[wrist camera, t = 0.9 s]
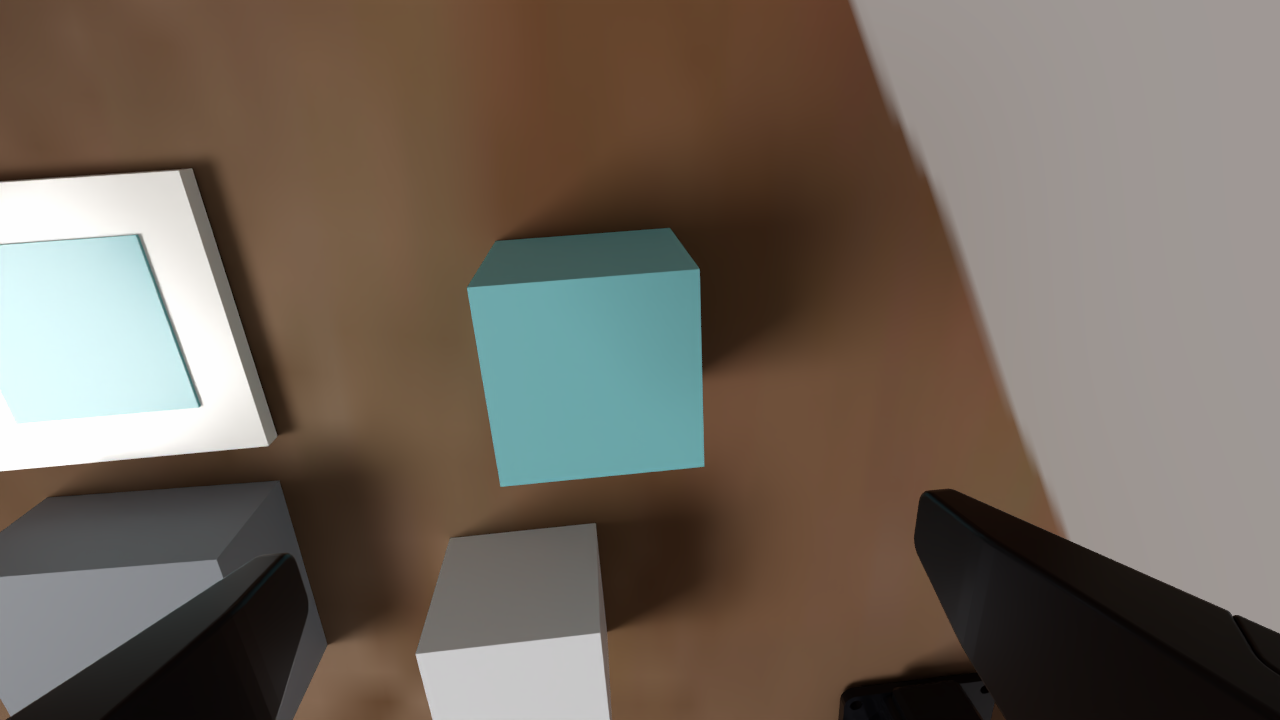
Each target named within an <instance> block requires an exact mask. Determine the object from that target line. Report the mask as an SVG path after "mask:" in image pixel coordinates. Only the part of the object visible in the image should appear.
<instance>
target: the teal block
mask: <svg viewBox="0 0 1280 720" xmlns="http://www.w3.org/2000/svg"><path fill="white" fill-rule="evenodd" d="M467 291H468V296H469V302H470V308H471V314H472V320H473V326H474V332H475V338H476V344H477V350H478V356H479V362H480V368H481V373H482V379H483V385H484V391H485V397H486V403H487V409H488V415H489V421H490V427H491V433H492V439H493V444H494V450H495V456H496V462H497V468H498V474H499V480H500V486H501V487H503V486H513V485H523V484H533V483H544V482H554V481H564V480H574V479H584V478H594V477H604V476H614V475H625V474H635V473H645V472H655V471H665V470H675V469H685V468H696V467H704V434H703V389H702V345H701V300H700V269H699V267H698V266H697V265H696V263H695V262H694V260H693V259H692V258H691V256H690V255H689V254H688V252H687V251H686V249H685V248H684V247H683V245H682V244H681V243H680V241H679V240H678V238H677V237H676V236H675V234H674V233H673V232H672V230H671V229H670V228H662V229H648V230H635V231H622V232H609V233H595V234H582V235H569V236H556V237H543V238H529V239H516V240H503V241H495V243H494V245H493V246H492V248H491V249H490V251H489V253H488V254H487V256H486V258H485V259H484V261H483V262H482V264H481V266H480V267H479V269H478V271H477V272H476V274H475V275H474V277H473V279H472V280H471V282H470V284H469V285H468V287H467Z"/></svg>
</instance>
